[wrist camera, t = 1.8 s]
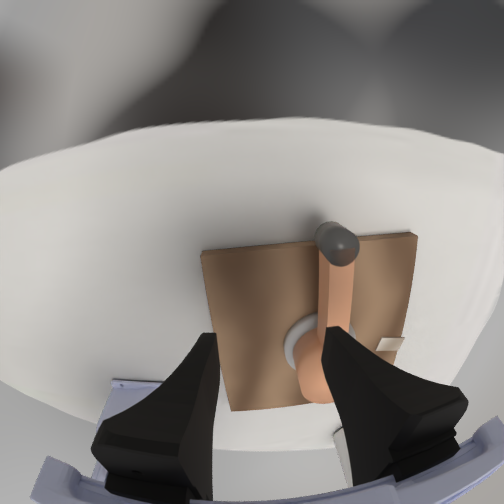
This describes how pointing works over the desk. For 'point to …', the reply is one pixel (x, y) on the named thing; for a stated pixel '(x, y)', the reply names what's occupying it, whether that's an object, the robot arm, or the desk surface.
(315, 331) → the wooden tool handle
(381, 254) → the walnut base
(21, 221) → the desk surface
